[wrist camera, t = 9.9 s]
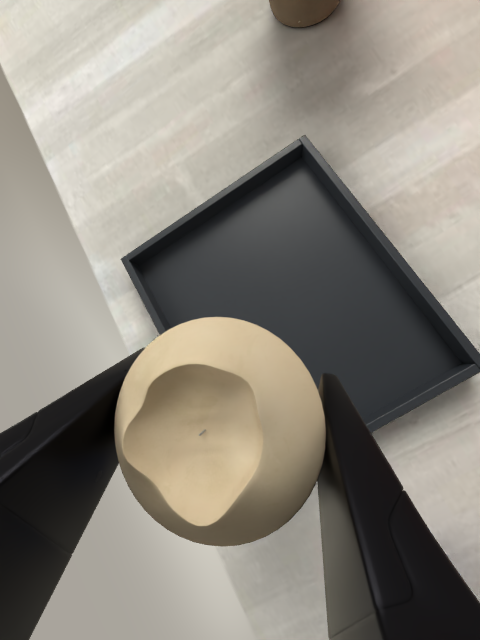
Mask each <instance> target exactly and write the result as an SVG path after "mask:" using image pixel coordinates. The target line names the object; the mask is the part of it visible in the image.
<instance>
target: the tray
mask: <svg viewBox="0 0 480 640" xmlns="http://www.w3.org/2000/svg"><path fill="white" fill-rule="evenodd" d="M121 260H122V262H123V264H124V266H125V268H126V270H127V272H128V274H129V276H130V278H131V280H132V282H133V284H134V286H135V288H136V289H137V291H138V293H139V295H140V297H141V299H142V301H143V303H144V305H145V307H146V309H147V311H148V313H149V315H150V317H151V318H152V320H153V322H154V324H155V326H156V328H157V330H158V332H159V334H160V335H161V334H163V333H164V332H166V331H167V330H169V329H171V328H173V327H175V326H177V325H179V324H182V323H185V322H188V321H191V320H195V319H200V318H207V317H228V318H234V319H239V320H244V321H247V322H250V323H252V324H255V325H258V326H260V327H262V328H264V329H266V330H268V331H269V332H271V333H272V334H274V335H275V336H277V337H278V338H280V339H281V340H282V341H283V342H284V343H285V344H287V345H288V346H289V347H290V348H291V349H292V350H293V351H294V352H295V354H296V355H297V356H298V357H299V358H300V359H301V361H302V362H303V364H304V365H305V367H306V368H307V370H308V371H309V373H310V375H311V377H312V379H313V381H314V383H315V385H316V387H317V390H318V388H319V384H320V379H321V375H322V374H323V373H328V374H335V375H336V376H337V377H338V379H339V380H340V382H341V384H342V385H343V387H344V389H345V390H346V392H347V394H348V395H349V397H350V399H351V400H352V402H353V404H354V405H355V407H356V409H357V411H358V412H359V414H360V416H361V417H362V419H363V421H364V422H365V424H366V426H367V427H368V429H369V431H370V432H373V431H375V430H377V429H379V428H380V427H382V426H384V425H386V424H388V423H389V422H391V421H393V420H395V419H397V418H398V417H400V416H402V415H404V414H406V413H407V412H409V411H411V410H413V409H415V408H416V407H418V406H420V405H422V404H424V403H425V402H427V401H429V400H431V399H433V398H434V397H436V396H438V395H440V394H441V393H443V392H445V391H447V390H449V389H450V388H452V387H454V386H456V385H458V384H459V383H461V382H463V381H465V380H467V379H468V378H470V377H472V376H474V375H476V374H477V373H479V372H480V353H479V352H478V351H477V350H476V348H475V347H474V346H473V345H472V343H471V342H470V341H469V340H468V338H467V337H466V336H465V335H464V333H463V332H462V331H461V330H460V328H459V327H458V326H457V325H456V323H455V322H454V321H453V320H452V318H451V317H450V316H449V315H448V313H447V312H446V311H445V310H444V308H443V307H442V306H441V305H440V303H439V302H438V301H437V300H436V298H435V297H434V296H433V295H432V293H431V292H430V291H429V290H428V288H427V287H426V286H425V285H424V283H423V282H422V281H421V280H420V278H419V277H418V276H417V275H416V273H415V272H414V271H413V270H412V268H411V267H410V266H409V265H408V263H407V262H406V261H405V259H404V258H403V257H402V256H401V254H400V253H399V252H398V251H397V249H396V248H395V247H394V246H393V244H392V243H391V242H390V241H389V239H388V238H387V237H386V236H385V234H384V233H383V232H382V231H381V229H380V228H379V227H378V226H377V224H376V223H375V222H374V221H373V219H372V218H371V217H370V216H369V214H368V213H367V212H366V211H365V209H364V208H363V207H362V206H361V204H360V203H359V202H358V201H357V199H356V198H355V197H354V196H353V194H352V193H351V192H350V191H349V189H348V188H347V187H346V186H345V184H344V183H343V182H342V181H341V179H340V178H339V177H338V176H337V174H336V173H335V172H334V171H333V169H332V168H331V167H330V166H329V164H328V163H327V162H326V161H325V159H324V158H323V157H322V156H321V154H320V153H319V152H318V151H317V149H316V148H315V147H314V146H313V144H312V143H311V142H310V141H309V139H308V138H307V137H306V135H303V136H302V137H301V138H299V139H298V140H296V141H295V142H293V143H292V144H290V145H289V146H287V147H286V148H284V149H283V150H281V151H280V152H278V153H277V154H275V155H274V156H272V157H271V158H269V159H268V160H266V161H265V162H264V163H262V164H261V165H259V166H258V167H256V168H255V169H253V170H252V171H250V172H249V173H247V174H246V175H244V176H243V177H241V178H240V179H238V180H237V181H235V182H234V183H232V184H231V185H229V186H228V187H226V188H225V189H224V190H222V191H221V192H219V193H218V194H216V195H215V196H213V197H212V198H210V199H209V200H207V201H206V202H204V203H203V204H201V205H200V206H198V207H197V208H195V209H194V210H192V211H191V212H189V213H188V214H187V215H185V216H184V217H182V218H181V219H179V220H178V221H176V222H175V223H173V224H172V225H170V226H169V227H167V228H166V229H164V230H163V231H161V232H160V233H158V234H157V235H155V236H154V237H152V238H151V239H149V240H148V241H147V242H145V243H144V244H142V245H141V246H139V247H138V248H136V249H135V250H133V251H132V252H130V253H129V254H127V256H124V257H123V258H121Z"/></svg>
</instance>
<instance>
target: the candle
mask: <svg viewBox="0 0 480 640" xmlns="http://www.w3.org/2000/svg"><path fill="white" fill-rule="evenodd" d="M114 435H115V446H116V451H117V456H118V461H119V464H120V467H121V470H122V473H123V475H124V478H125V480H126V482H127V484H128V486H129V488H130V490H131V491H132V493H133V495H134V496H135V498H136V499H137V500H138V502H139V503H140V504H141V506H142V507H143V508H144V510H145V511H146V512H147V513H148V514H149V515H150V516H151V517H152V518H153V519H154V520H155V521H157V522H158V523H159V524H161V525H162V526H164V527H165V528H166V529H167V530H169V531H171V532H173V533H175V534H176V535H178V536H180V537H183V538H185V539H188V540H190V541H193V542H196V543H200V544H205V545H212V546H235V545H241V544H245V543H250V542H253V541H256V540H258V539H261V538H263V537H266V536H267V535H269V534H271V533H273V532H274V531H276V530H278V529H279V528H280V527H282V526H283V525H284V524H285V523H287V522H288V521H289V520H290V519H291V518H292V517H293V516H294V515H295V514H296V513H297V512H298V511H299V510H300V509H301V507H302V506H303V504H304V503H305V502H306V500H307V499H308V497H309V496H310V494H311V492H312V490H313V488H314V486H315V484H316V482H317V479H318V476H319V473H320V470H321V467H322V464H323V458H324V453H325V443H326V427H325V416H324V411H323V406H322V402H321V399H320V396H319V393H318V390H317V387H316V385H315V383H314V381H313V379H312V377H311V375H310V373H309V371H308V370H307V368H306V367H305V365H304V364H303V362H302V361H301V359H300V358H299V357H298V356H297V355H296V354H295V352H294V351H293V350H292V349H291V348H290V347H289V346H288V345H287V344H285V343H284V342H283V341H282V340H281V339H280V338H278V337H277V336H275V335H274V334H272V333H271V332H269V331H268V330H266V329H264V328H262V327H260V326H258V325H255V324H252V323H250V322H247V321H244V320H239V319H234V318H228V317H207V318H200V319H195V320H191V321H188V322H185V323H182V324H179V325H177V326H175V327H173V328H171V329H169V330H167V331H166V332H164V333H163V334H161V335H160V336H158V337H157V338H156V339H155V340H154V341H153V342H151V343H150V344H149V345H148V346H147V347H146V348H145V349H144V350H143V351H142V353H141V354H140V355H139V356H138V358H137V359H136V360H135V362H134V363H133V365H132V366H131V368H130V370H129V372H128V374H127V375H126V377H125V380H124V382H123V385H122V387H121V390H120V393H119V397H118V401H117V405H116V412H115V423H114Z"/></svg>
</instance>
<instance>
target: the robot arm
mask: <svg viewBox="0 0 480 640" xmlns="http://www.w3.org/2000/svg"><path fill="white" fill-rule="evenodd" d="M145 348H146V347H145ZM145 348H142V349H140V350H138V351H137V352H135V353H133V354H132V355H130V356H129V357H127V358H125V359H124V360H122V361H120V362H119V363H117V364H115V365H114V366H112V367H110V368H109V369H107V370H105V371H104V372H102V373H101V374H99V375H97V376H95V377H94V378H92V379H90V380H89V381H87V382H85V383H84V384H82V385H80V386H79V387H77V388H76V389H74V390H72V391H71V392H69V393H67V394H66V395H64V396H63V397H61V398H59V399H57V400H56V401H54V402H52V403H51V404H49V405H48V406H46V407H44V408H42V409H41V410H39V412H36V413H34V414H32V415H31V416H29V417H28V418H26V419H24V420H22V421H21V422H19V423H17V424H16V425H14V426H12V427H10V428H9V429H7V430H5V431H3V432H2V433H0V640H29V639H30V637H31V635H32V633H33V631H34V629H35V627H36V625H37V623H38V621H39V619H40V617H41V615H42V613H43V611H44V609H45V607H46V605H47V603H48V601H49V599H50V597H51V595H52V594H53V592H54V590H55V588H56V586H57V584H58V582H59V580H60V578H61V576H62V574H63V572H64V570H65V568H66V566H67V564H68V562H69V560H70V558H71V556H72V553H73V552H74V550H75V548H76V546H77V544H78V542H79V540H80V538H81V536H82V534H83V532H84V530H85V528H86V526H87V524H88V522H89V521H90V519H91V517H92V515H93V513H94V510H95V509H96V507H97V505H98V503H99V501H100V499H101V497H102V495H103V493H104V491H105V489H106V487H107V485H108V483H109V481H110V479H111V477H112V475H113V473H114V472H115V470H116V468H117V466H118V464H119V461H118V456H117V451H116V446H115V435H114V423H115V412H116V405H117V401H118V397H119V393H120V390H121V387H122V385H123V382H124V380H125V377H126V375H127V374H128V372H129V370H130V368H131V366H132V365H133V363H134V362H135V360H136V359H137V358H138V356H139V355H140V354H141V353H142V351H143V350H144V349H145ZM318 393H319V396H320V399H321V402H322V406H323V411H324V416H325V427H326V443H325V453H324V458H323V464H322V467H321V470H320V473H319V476H318V479H317V481H318V495H319V509H320V523H321V538H322V552H323V566H324V580H325V594H326V608H327V622H328V636H329V639H330V640H480V602H479V601H478V600H477V598H476V597H475V595H474V594H473V592H472V591H471V590H470V588H469V587H468V585H467V584H466V583H465V581H464V580H463V578H462V577H461V576H460V574H459V573H458V571H457V570H456V568H455V567H454V566H453V564H452V563H451V561H450V560H449V558H448V557H447V555H446V554H445V553H444V551H443V550H442V548H441V547H440V545H439V544H438V542H437V541H436V539H435V538H434V536H433V535H432V533H431V532H430V530H429V529H428V527H427V525H426V524H425V522H424V521H423V519H422V517H421V516H420V514H419V513H418V511H417V509H416V508H415V506H414V504H413V503H412V501H411V499H410V498H409V496H408V494H407V493H406V491H404V490H403V486H402V484H401V483H400V481H399V479H398V478H397V476H396V474H395V473H394V471H393V469H392V468H391V466H390V464H389V463H388V461H387V459H386V458H385V456H384V454H383V453H382V451H381V449H380V447H379V446H378V444H377V442H376V441H375V439H374V437H373V436H372V434H371V432H370V431H369V429H368V427H367V426H366V424H365V422H364V421H363V419H362V417H361V416H360V414H359V412H358V411H357V409H356V407H355V405H354V404H353V402H352V400H351V399H350V397H349V395H348V394H347V392H346V390H345V389H344V387H343V385H342V384H341V382H340V380H339V379H338V377H337V376H336V375H335V374H328V373H323V374H322V375H321V379H320V384H319V388H318ZM402 490H403V491H402Z"/></svg>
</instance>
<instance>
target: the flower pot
mask: <svg viewBox="0 0 480 640" xmlns="http://www.w3.org/2000/svg"><path fill="white" fill-rule="evenodd" d="M339 1H340V0H269V2H270V6H271V9H272V12H273V14H274V16H275V17H276V18H277V19H278V20H279V21H280V22H281V23H283V24H285V25H287V26H291V27H306V26H310V25H314V24H316V23H318V22H320V21H322V20H324V19H325V18H327V17H328V16H329V15H330V14H331V13H332V12H333V11H334V10H335V8H336V7H337V5H338V4H339Z"/></svg>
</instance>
